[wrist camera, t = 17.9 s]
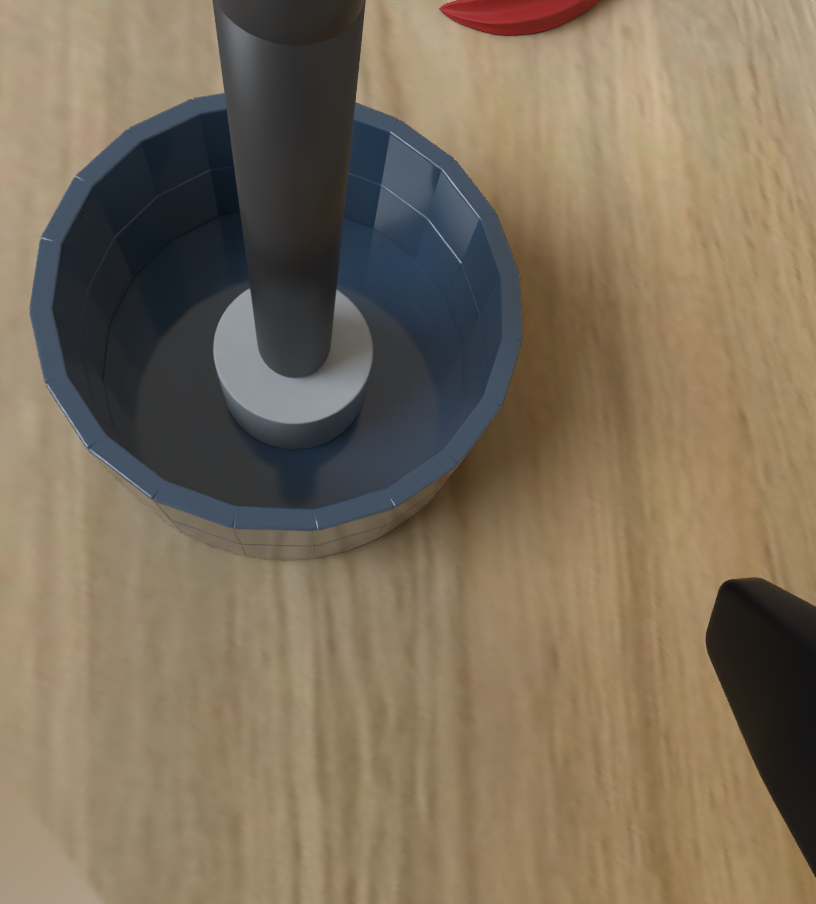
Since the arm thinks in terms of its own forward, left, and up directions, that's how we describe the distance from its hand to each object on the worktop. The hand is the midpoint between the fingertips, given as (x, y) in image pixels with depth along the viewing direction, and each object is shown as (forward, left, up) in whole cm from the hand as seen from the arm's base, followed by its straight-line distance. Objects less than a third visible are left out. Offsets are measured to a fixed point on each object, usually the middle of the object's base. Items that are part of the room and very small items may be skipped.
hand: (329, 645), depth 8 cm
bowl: (+2, +8, -13) cm, 15 cm away
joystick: (+2, +7, -12) cm, 14 cm away
